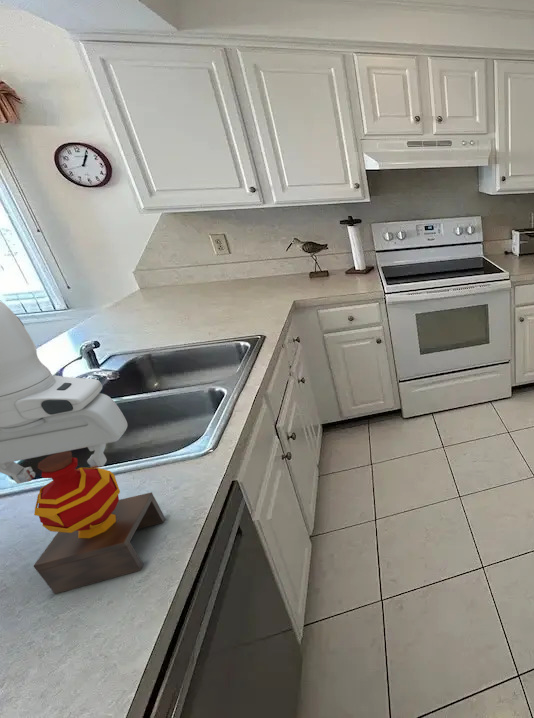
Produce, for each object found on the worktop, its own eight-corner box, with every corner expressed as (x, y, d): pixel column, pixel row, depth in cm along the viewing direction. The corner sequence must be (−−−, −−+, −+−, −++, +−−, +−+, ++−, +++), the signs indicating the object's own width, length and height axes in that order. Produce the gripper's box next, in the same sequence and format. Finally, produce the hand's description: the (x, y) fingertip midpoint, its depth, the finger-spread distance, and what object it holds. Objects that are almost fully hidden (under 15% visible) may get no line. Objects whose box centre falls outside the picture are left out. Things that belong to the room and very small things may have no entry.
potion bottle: (147, 513, 74) (110, 447, 68) (74, 561, 66) (25, 491, 59) (115, 495, 78) (78, 432, 72) (44, 538, 70) (-6, 471, 63)
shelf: (54, 594, 68) (32, 566, 65) (91, 536, 78) (74, 509, 75) (140, 570, 72) (123, 542, 69) (165, 518, 82) (151, 492, 79)
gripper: (-96, 429, 55) (-36, 504, 61) (91, 397, 61) (130, 469, 67) (-58, 404, 61) (-5, 476, 66) (111, 377, 67) (145, 445, 72)
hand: (64, 472), depth 67 cm, fingers open, 8 cm apart
